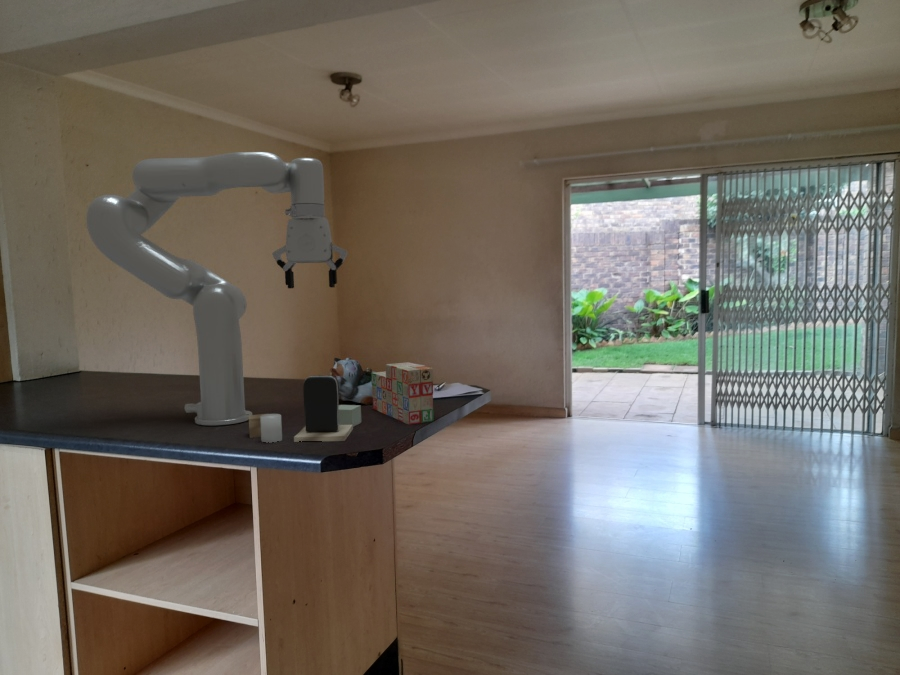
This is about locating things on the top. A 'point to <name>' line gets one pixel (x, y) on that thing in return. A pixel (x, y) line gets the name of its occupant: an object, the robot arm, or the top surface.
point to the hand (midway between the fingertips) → (311, 287)
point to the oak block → (255, 425)
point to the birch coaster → (324, 434)
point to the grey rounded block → (271, 428)
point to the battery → (321, 403)
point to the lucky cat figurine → (353, 381)
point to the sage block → (349, 414)
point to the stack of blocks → (404, 392)
